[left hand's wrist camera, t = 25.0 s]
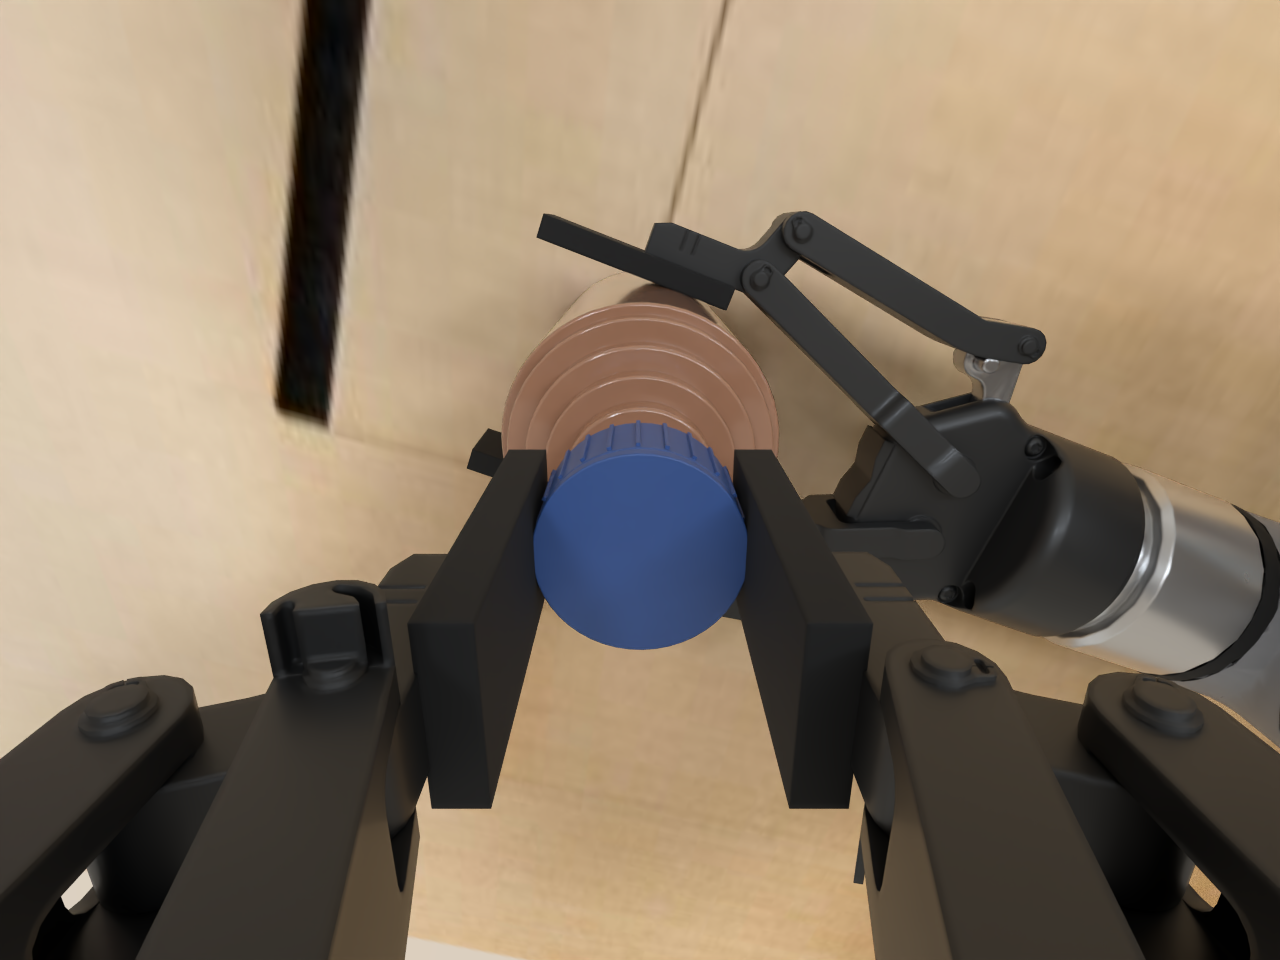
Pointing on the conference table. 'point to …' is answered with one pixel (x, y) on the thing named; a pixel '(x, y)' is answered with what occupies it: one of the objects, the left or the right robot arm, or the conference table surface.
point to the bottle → (639, 375)
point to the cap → (640, 537)
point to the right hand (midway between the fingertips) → (510, 342)
